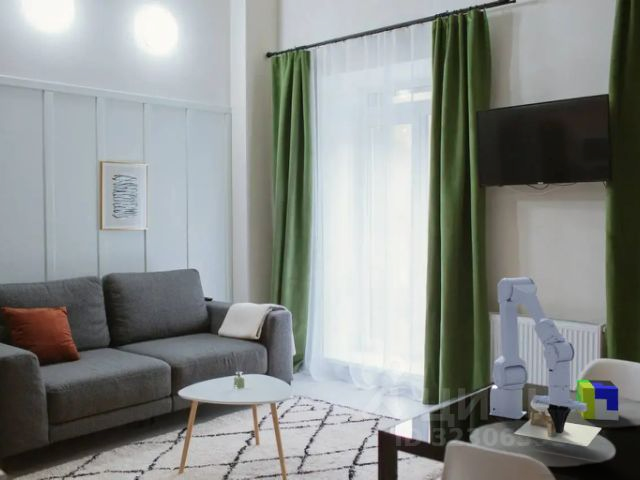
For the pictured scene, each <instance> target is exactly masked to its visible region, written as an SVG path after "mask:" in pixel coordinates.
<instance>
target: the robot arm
mask: <svg viewBox="0 0 640 480" xmlns="http://www.w3.org/2000/svg"><path fill="white" fill-rule="evenodd" d="M537 291H538V287H537V285H536V283H535V281H534V279H533V278H532V277H531V276H525V277H503V278H501V280H499V282H498V283H497V303H499V323H500V324H499V326H500V327H499V328H500V329H499V330H500V354H501V355H500V357H498V358H497V359H495V361H494V362H493V369H492V373H491V376H492V381H493V383H494V384H493V385H491V387H490V391H489V392H490V394H489V407H490V408H489V409H490V410H489V412H490V413H489V416H495V417H501V418H508V419H509V418H510V419H515V420H520V419H521V418H522V417H524V416H525V415H527V413H528V412H527V411H523V388H525V385H526V383H528V380H529V373H528V369H527V366H526V365H527V364H526V361H525V360H524V359H522V358H521V357H520V356H519V355H520V353H519V351H520V349H519V325H518V306H520V304H522V305H523V306H524V308H525V310H526V311H527V313H528V314H529V316H530V317H531V319H532V320H533V322H534V323H535V325H534V332H535V333H536V335H537V337H538V338H539V341H540V342H541V344H542V346H543V347H544V349H543V350H542V352H543V353H542V354H543V357H544V359H545V366H546V369H547V375H548V377H547V378H548V381H547V382H548V385H547V386H548V395H538V394H535V395H533V397H532V403H533V404H540V405H547V406H548V408H546V409H547V412H548V414H549V415H550V416H551V418H552V420H553V423H554V426H555V430H556V433H560V434H561V433H562V432H563V430H564V425H565V422H567V419H568V417H569V415H570V413H571V411H572V410H574V411H577V410H580V411H581V412H585V411H587V404H586V403H581V402H578V401H577V400H574V399H571V362H572V361H573V360H574V358H575V349H574V346H573V344H572V342H571V341H569V340H567V339H566V338H565V337H563V336H562V334H561V332H560V331H559V329H558V328H557V326H556V324H555V322H554V321H553V320H552V319H550V318H547V316H546V314H545V311H544V309H543V307H542V305H541V303H540V301H539V298H538V296H537Z"/></svg>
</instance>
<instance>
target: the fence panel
mask: <svg viewBox="0 0 640 480" xmlns="http://www.w3.org/2000/svg"><path fill="white" fill-rule="evenodd" d="M555 433H556V430H555V426H554V423H553V420H551V419H548V436H553V435H554V434H555Z"/></svg>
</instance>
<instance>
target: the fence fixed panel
mask: <svg viewBox="0 0 640 480" xmlns="http://www.w3.org/2000/svg"><path fill="white" fill-rule="evenodd" d="M548 419H551V420H552V418H551V416H550V414H549V413H546V411H545V409H544V410H543V409H542V410H541V412H536V409H535V408H532V409H531V411H530V419H529V420H530V423H531V424H533V425H540V426H546V427H548Z"/></svg>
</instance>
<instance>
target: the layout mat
mask: <svg viewBox="0 0 640 480" xmlns="http://www.w3.org/2000/svg"><path fill="white" fill-rule="evenodd" d="M601 430H602V427H597V426H592V425H585V424H578V423H571V422H567V421H566V422H565V425H564V430H563V432H562V433H561V434H560V433H555V434H554V435H553V436H548V427H546V426H540V425H533V424H531V423H530V419H529V420H528V421H527V422H525V423H524V424H523V425H522V426H521V427H520V428H518V429H517V430H516V431H515V432H514V433H513V435H519V436H524V437H530V438H536V439H542V440H548V441H551V442H552V441H553V442H558V443H565V444H569V445H570V444H571V445H575V446H582V447H588V446H589V445H590V444H591V442H592V441H593V440H594V439H595V438H596V436H597V435H598V434H599V433H600V431H601Z"/></svg>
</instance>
